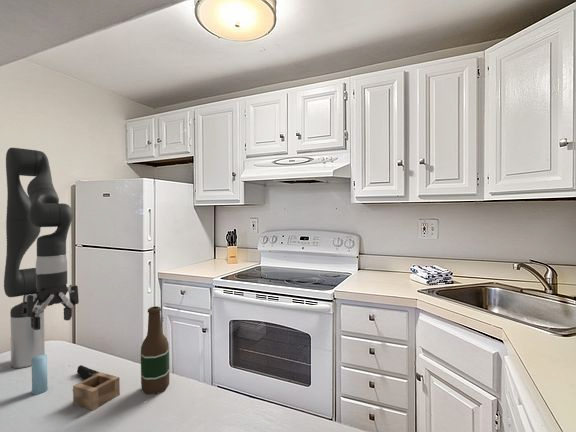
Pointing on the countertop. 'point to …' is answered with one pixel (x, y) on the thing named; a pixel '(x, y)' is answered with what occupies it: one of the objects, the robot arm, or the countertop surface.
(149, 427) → the countertop surface
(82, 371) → the electric trimmer
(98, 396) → the socket block
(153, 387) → the beer bottle
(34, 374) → the peg
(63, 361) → the countertop surface
